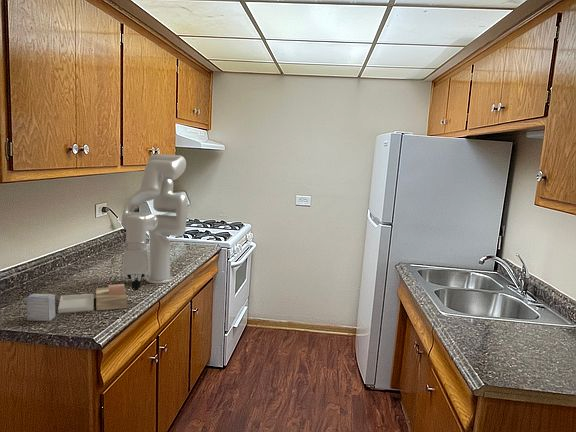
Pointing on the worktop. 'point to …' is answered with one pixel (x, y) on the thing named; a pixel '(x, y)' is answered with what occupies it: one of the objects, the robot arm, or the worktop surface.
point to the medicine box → (40, 307)
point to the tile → (116, 289)
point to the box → (76, 303)
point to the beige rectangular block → (109, 300)
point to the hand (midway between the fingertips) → (135, 289)
